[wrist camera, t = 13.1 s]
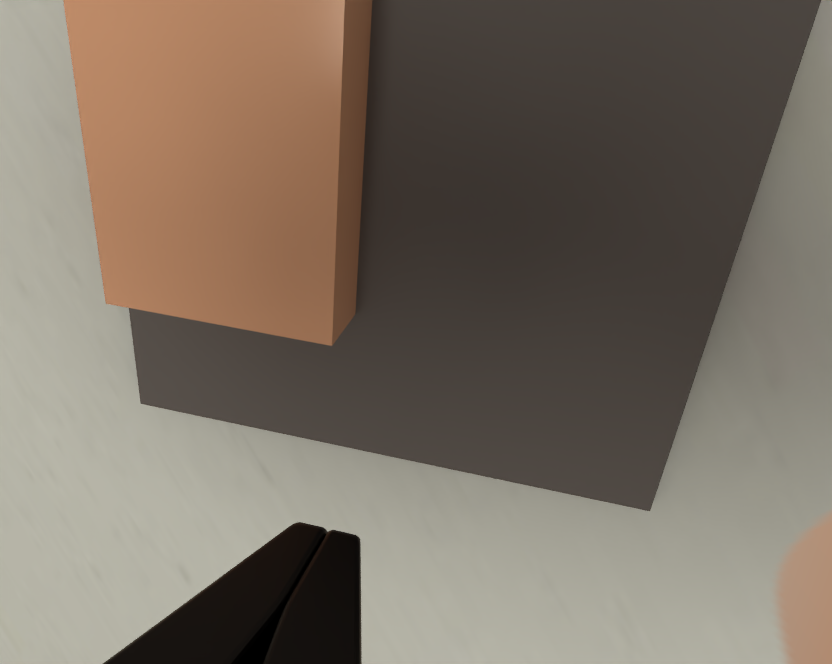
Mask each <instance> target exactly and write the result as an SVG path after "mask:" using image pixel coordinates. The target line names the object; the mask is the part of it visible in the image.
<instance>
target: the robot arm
mask: <svg viewBox="0 0 832 664" xmlns="http://www.w3.org/2000/svg"><path fill="white" fill-rule="evenodd" d="M103 664H362V663H361V557H360V538H359V537H358V536H356V535H353V534H349V533H344V532H340V531H336V530H331V531H329V532H327V530H326V529H324V528H323V527H319V526H314V525H310V524H306V523H301V522H298V523H295V524H293V525H291V526H290V527H288V528H287V529H286V530H284V531H283V532H281V533H280V534H279V535H277V536H276V537H275V538H273V539H272V540H271V541H269V542H268V543H266V544H265V545H264V546H262V547H261V548H260V549H258V550H257V551H256V552H254V553H253V554H252V555H250V556H249V557H247V558H246V559H245V560H243V561H242V562H241V563H239V564H238V565H237V566H235V567H234V568H232V569H231V570H230V571H228V572H227V573H226V574H224V575H223V576H222V577H220V578H219V579H217V580H216V581H215V582H213V583H212V584H211V585H209V586H208V587H207V588H205V589H204V590H203V591H201V592H200V593H198V594H197V595H196V596H194V597H193V598H192V599H190V600H189V601H188V602H186V603H185V604H183V605H182V606H181V607H179V608H178V609H177V610H175V611H174V612H173V613H171V614H170V615H169V616H167V617H166V618H164V619H163V620H162V621H160V622H159V623H158V624H156V625H155V626H154V627H152V628H151V629H149V630H148V631H147V632H145V633H144V634H143V635H141V636H140V637H139V638H137V639H136V640H134V641H133V642H132V643H130V644H129V645H128V646H126V647H125V648H124V649H122V650H121V651H120V652H118V653H117V654H115V655H114V656H113V657H111V658H110V659H109V660H107V661H106V662H105V663H103Z"/></svg>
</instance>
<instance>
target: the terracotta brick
mask: <svg viewBox="0 0 832 664" xmlns="http://www.w3.org/2000/svg"><path fill="white" fill-rule="evenodd" d="M64 7H65V15H66V22H67V29H68V36H69V43H70V50H71V57H72V65H73V72H74V79H75V86H76V93H77V100H78V108H79V115H80V122H81V129H82V136H83V143H84V150H85V158H86V165H87V172H88V179H89V186H90V193H91V201H92V208H93V215H94V222H95V229H96V236H97V243H98V251H99V258H100V265H101V272H102V279H103V286H104V294H105V301H106V304H112V305H117V306H122V307H128V308H133V309H138V310H143V311H149V312H154V313H159V314H165V315H170V316H175V317H181V318H186V319H191V320H197V321H202V322H207V323H213V324H218V325H223V326H229V327H234V328H239V329H245V330H250V331H255V332H260V333H266V334H271V335H276V336H282V337H287V338H292V339H298V340H303V341H308V342H314V343H319V344H324V345H330V346H332V345H333V344H334V343H335V341H336V340H337V339H338V337H339V336H340V334H341V333H342V332H343V330H344V329H345V328H346V326H347V325H348V324H349V322H350V321H351V319H352V318H353V317H354V315H355V311H356V292H357V274H358V255H359V237H360V218H361V200H362V181H363V163H364V144H365V126H366V107H367V89H368V70H369V52H370V33H371V15H372V0H64Z"/></svg>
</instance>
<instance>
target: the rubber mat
mask: <svg viewBox="0 0 832 664" xmlns="http://www.w3.org/2000/svg"><path fill="white" fill-rule="evenodd" d="M820 2H821V0H372V15H371V33H370V52H369V70H368V89H367V107H366V126H365V144H364V163H363V181H362V200H361V218H360V237H359V255H358V274H357V292H356V311H355V315H354V317H353V318H352V319H351V321H350V322H349V324H348V325H347V326H346V328H345V329H344V330H343V332H342V333H341V334H340V336H339V337H338V339H337V340H336V341H335V343H334V344H333V345H332V346H330V345H324V344H319V343H314V342H308V341H303V340H298V339H292V338H287V337H282V336H276V335H271V334H266V333H260V332H255V331H250V330H245V329H239V328H234V327H229V326H223V325H218V324H213V323H207V322H202V321H197V320H191V319H186V318H181V317H175V316H170V315H165V314H159V313H154V312H149V311H143V310H138V309H133V308H129V312H130V320H131V328H132V336H133V345H134V353H135V361H136V369H137V377H138V385H139V393H140V401H141V404H145V405H150V406H155V407H159V408H164V409H169V410H174V411H178V412H183V413H188V414H193V415H197V416H202V417H207V418H212V419H216V420H221V421H226V422H230V423H235V424H240V425H245V426H249V427H254V428H259V429H264V430H268V431H273V432H278V433H283V434H287V435H292V436H297V437H302V438H306V439H311V440H316V441H320V442H325V443H330V444H335V445H339V446H344V447H349V448H354V449H358V450H363V451H368V452H373V453H377V454H382V455H387V456H391V457H396V458H401V459H406V460H410V461H415V462H420V463H425V464H429V465H434V466H439V467H444V468H448V469H453V470H458V471H463V472H467V473H472V474H477V475H481V476H486V477H491V478H496V479H500V480H505V481H510V482H515V483H519V484H524V485H529V486H534V487H538V488H543V489H548V490H552V491H557V492H562V493H567V494H571V495H576V496H581V497H586V498H590V499H595V500H600V501H605V502H609V503H614V504H619V505H623V506H628V507H633V508H638V509H642V510H647V511H650V509H651V506H652V503H653V500H654V497H655V494H656V491H657V488H658V485H659V482H660V479H661V476H662V473H663V470H664V467H665V464H666V461H667V458H668V456H669V453H670V450H671V447H672V444H673V441H674V438H675V435H676V432H677V429H678V426H679V423H680V420H681V417H682V414H683V411H684V408H685V405H686V402H687V399H688V396H689V393H690V390H691V387H692V384H693V381H694V378H695V375H696V372H697V369H698V366H699V363H700V360H701V357H702V354H703V351H704V348H705V345H706V342H707V339H708V336H709V333H710V330H711V327H712V324H713V321H714V318H715V315H716V312H717V309H718V306H719V303H720V300H721V297H722V294H723V291H724V288H725V285H726V282H727V279H728V276H729V274H730V271H731V268H732V265H733V262H734V259H735V256H736V253H737V250H738V247H739V244H740V241H741V238H742V235H743V232H744V229H745V226H746V223H747V220H748V217H749V214H750V211H751V208H752V205H753V202H754V199H755V196H756V193H757V190H758V187H759V184H760V181H761V178H762V175H763V172H764V169H765V166H766V163H767V160H768V157H769V154H770V151H771V148H772V145H773V142H774V139H775V136H776V133H777V130H778V127H779V124H780V121H781V118H782V115H783V112H784V109H785V106H786V103H787V100H788V97H789V95H790V92H791V89H792V86H793V83H794V80H795V77H796V74H797V71H798V68H799V65H800V62H801V59H802V56H803V53H804V50H805V47H806V44H807V41H808V38H809V35H810V32H811V29H812V26H813V23H814V20H815V17H816V14H817V11H818V8H819V5H820Z"/></svg>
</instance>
